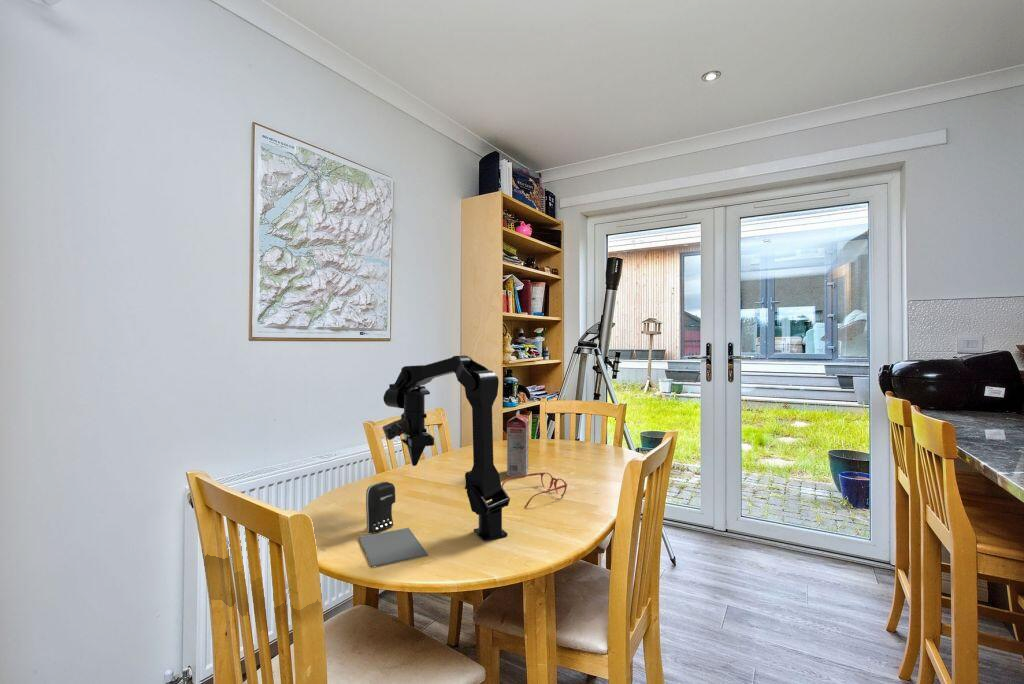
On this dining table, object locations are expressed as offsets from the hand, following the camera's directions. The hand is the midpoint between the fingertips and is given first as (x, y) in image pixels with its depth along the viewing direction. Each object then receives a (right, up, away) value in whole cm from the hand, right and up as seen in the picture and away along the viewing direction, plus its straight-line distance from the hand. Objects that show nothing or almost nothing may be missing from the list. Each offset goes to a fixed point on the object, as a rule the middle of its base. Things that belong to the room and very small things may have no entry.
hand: (414, 465), depth 132 cm
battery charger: (-5, -12, -14) cm, 20 cm away
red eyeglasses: (+34, -13, +11) cm, 38 cm away
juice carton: (+30, -12, +34) cm, 46 cm away
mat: (0, -12, -24) cm, 27 cm away
